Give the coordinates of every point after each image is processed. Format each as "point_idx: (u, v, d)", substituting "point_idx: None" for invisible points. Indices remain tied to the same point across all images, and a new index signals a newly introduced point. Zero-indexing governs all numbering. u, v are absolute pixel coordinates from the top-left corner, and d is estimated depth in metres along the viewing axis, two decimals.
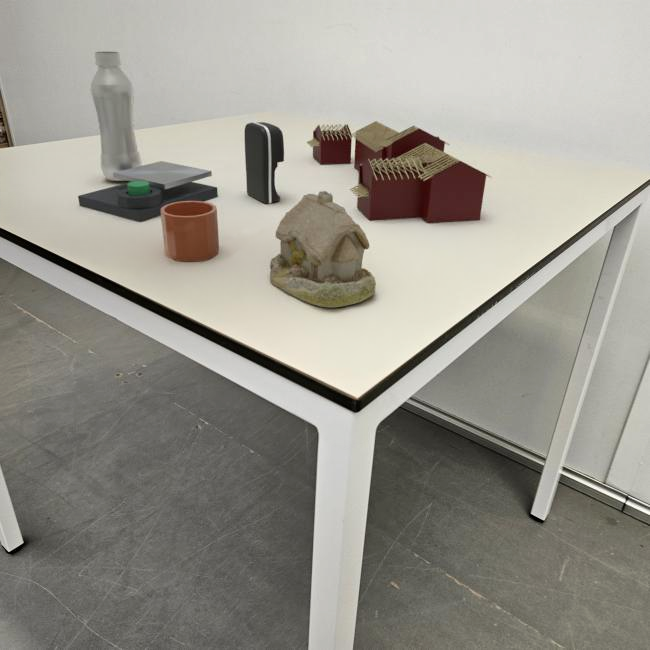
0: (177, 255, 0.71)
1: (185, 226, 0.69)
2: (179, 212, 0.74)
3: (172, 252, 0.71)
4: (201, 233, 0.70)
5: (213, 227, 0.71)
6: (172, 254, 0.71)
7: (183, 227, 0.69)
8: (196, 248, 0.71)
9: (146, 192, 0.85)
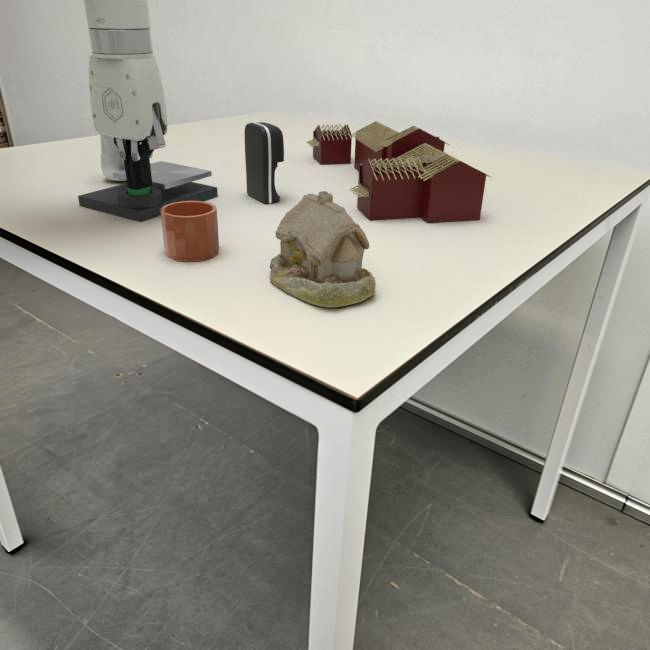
0: (177, 255, 0.71)
1: (185, 226, 0.69)
2: (179, 212, 0.74)
3: (172, 252, 0.71)
4: (201, 233, 0.70)
5: (213, 227, 0.71)
6: (172, 254, 0.71)
7: (183, 227, 0.69)
8: (196, 248, 0.71)
9: None
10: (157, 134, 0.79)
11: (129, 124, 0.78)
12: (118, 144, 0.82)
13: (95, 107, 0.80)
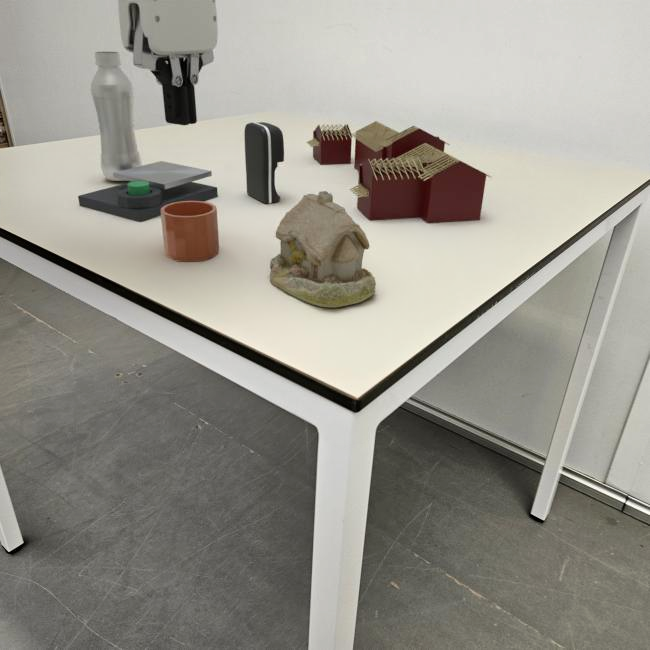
0: (177, 255, 0.71)
1: (185, 226, 0.69)
2: (179, 212, 0.74)
3: (172, 252, 0.71)
4: (201, 233, 0.70)
5: (213, 227, 0.71)
6: (172, 254, 0.71)
7: (183, 227, 0.69)
8: (196, 248, 0.71)
9: (146, 192, 0.85)
10: (135, 47, 0.60)
11: None
12: None
13: None
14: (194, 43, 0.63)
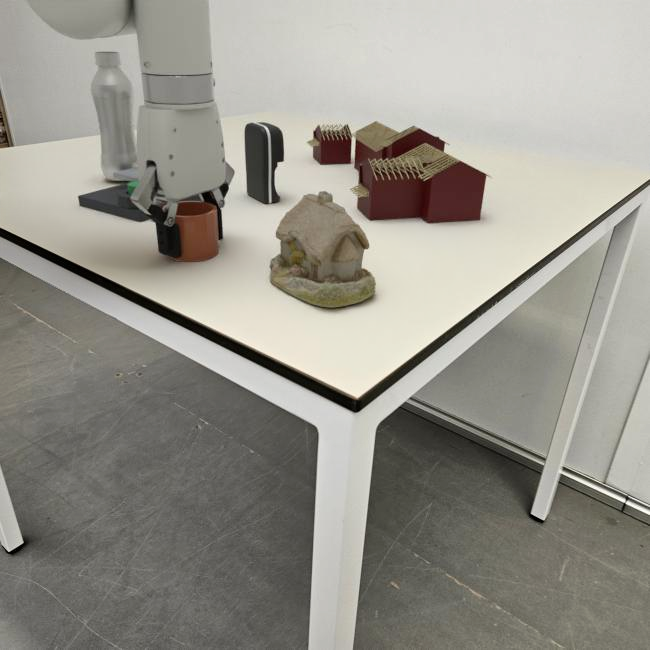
0: None
1: (185, 226, 0.69)
2: (179, 212, 0.74)
3: None
4: (201, 233, 0.70)
5: (213, 227, 0.71)
6: None
7: (183, 227, 0.69)
8: (196, 248, 0.71)
9: None
10: (138, 186, 0.65)
11: None
12: None
13: None
14: (204, 185, 0.70)
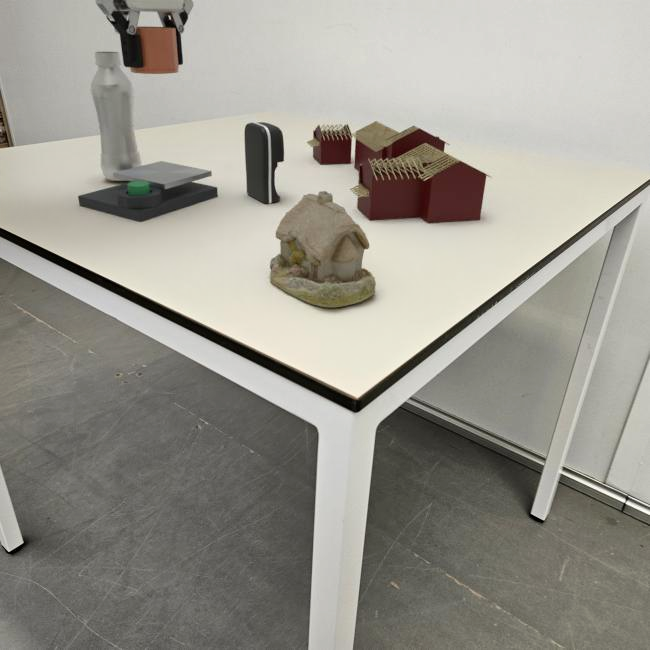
0: None
1: (146, 37, 0.79)
2: None
3: None
4: (161, 46, 0.80)
5: (172, 43, 0.81)
6: None
7: (144, 38, 0.79)
8: (156, 60, 0.80)
9: (146, 192, 0.85)
10: None
11: None
12: None
13: None
14: (163, 3, 0.79)
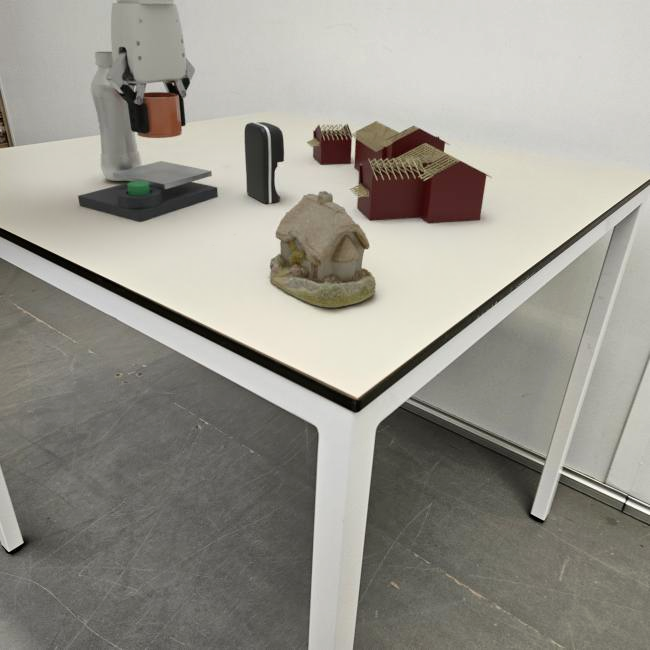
0: None
1: (152, 106, 0.85)
2: None
3: None
4: (166, 113, 0.86)
5: (176, 110, 0.88)
6: None
7: (150, 107, 0.85)
8: (161, 126, 0.87)
9: (146, 192, 0.85)
10: (112, 67, 0.81)
11: None
12: None
13: None
14: (167, 73, 0.86)
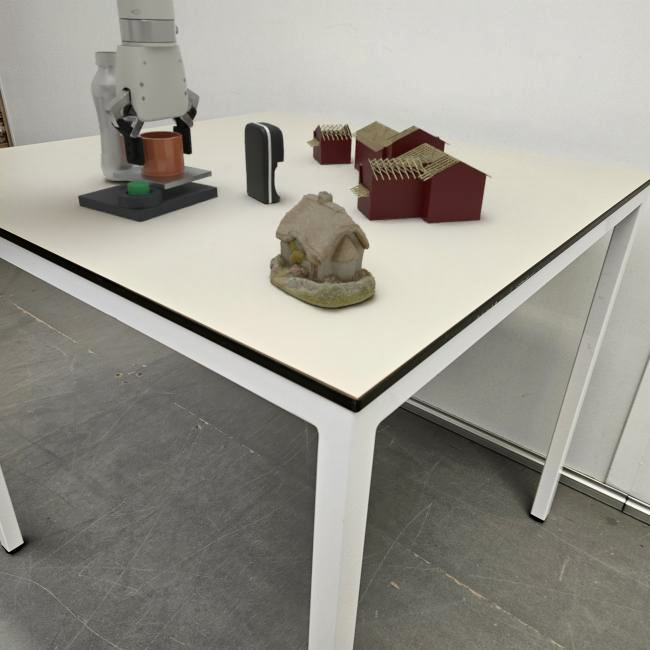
0: (150, 171, 0.90)
1: (156, 147, 0.88)
2: None
3: (146, 169, 0.90)
4: (169, 154, 0.89)
5: (179, 149, 0.90)
6: (146, 171, 0.90)
7: (154, 147, 0.88)
8: (165, 165, 0.89)
9: (146, 192, 0.85)
10: (113, 100, 0.82)
11: None
12: None
13: None
14: (170, 112, 0.88)
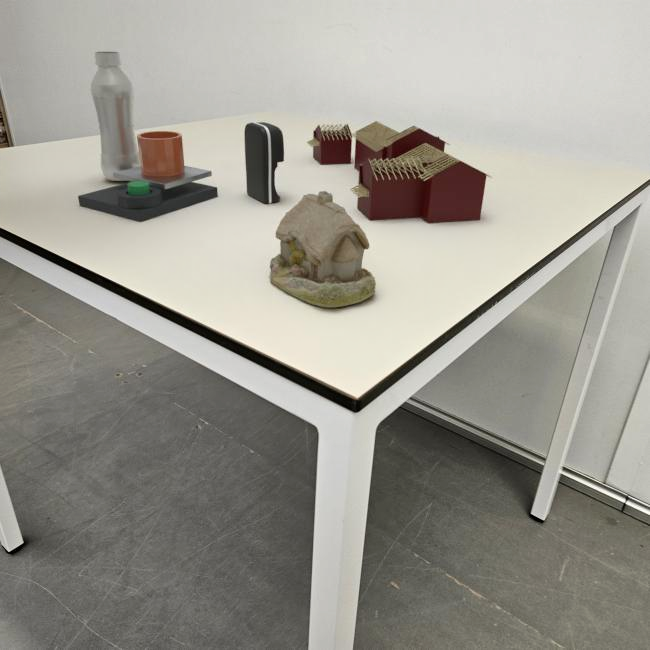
0: (150, 171, 0.90)
1: (156, 147, 0.88)
2: None
3: (146, 169, 0.90)
4: (169, 154, 0.89)
5: (179, 149, 0.90)
6: (146, 171, 0.90)
7: (154, 147, 0.88)
8: (165, 165, 0.89)
9: (146, 192, 0.85)
10: None
11: None
12: None
13: None
14: None
